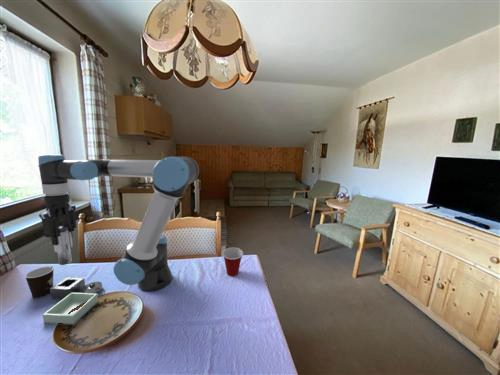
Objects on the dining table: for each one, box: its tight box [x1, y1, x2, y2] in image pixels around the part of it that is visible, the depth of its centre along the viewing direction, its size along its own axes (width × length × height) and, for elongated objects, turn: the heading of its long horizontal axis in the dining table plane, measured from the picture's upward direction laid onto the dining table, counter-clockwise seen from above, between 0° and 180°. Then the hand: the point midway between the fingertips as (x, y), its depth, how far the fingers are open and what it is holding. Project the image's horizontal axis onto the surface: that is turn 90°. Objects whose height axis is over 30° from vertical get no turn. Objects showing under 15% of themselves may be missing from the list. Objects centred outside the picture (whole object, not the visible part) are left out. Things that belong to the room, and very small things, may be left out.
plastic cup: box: [222, 247, 244, 277], centre depth 109 cm, size 11×11×12 cm
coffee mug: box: [24, 265, 54, 299], centre depth 92 cm, size 12×9×10 cm
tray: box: [42, 292, 99, 326], centre depth 81 cm, size 11×12×4 cm
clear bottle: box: [57, 225, 73, 266], centre depth 87 cm, size 4×4×16 cm
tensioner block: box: [50, 276, 86, 301], centre depth 91 cm, size 8×8×5 cm
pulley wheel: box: [81, 281, 103, 295], centre depth 93 cm, size 7×7×3 cm
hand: (64, 248), depth 87 cm, fingers closed on clear bottle, 4 cm apart
